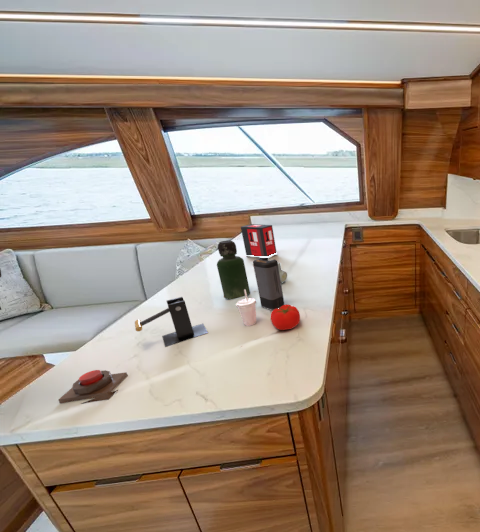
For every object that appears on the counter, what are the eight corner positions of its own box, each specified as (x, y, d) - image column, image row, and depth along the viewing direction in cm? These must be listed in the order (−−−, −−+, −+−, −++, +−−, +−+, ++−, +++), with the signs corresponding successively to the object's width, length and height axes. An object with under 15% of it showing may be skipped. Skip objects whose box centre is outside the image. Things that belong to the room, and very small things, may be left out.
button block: (61, 406, 73) (54, 393, 71) (86, 384, 80) (81, 372, 79) (108, 399, 75) (103, 386, 73) (129, 378, 82) (124, 366, 81)
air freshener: (273, 278, 154) (270, 260, 151) (289, 278, 154) (286, 260, 150) (263, 286, 144) (260, 267, 140) (280, 286, 143) (277, 267, 140)
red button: (76, 387, 74) (74, 381, 73) (89, 376, 78) (86, 371, 77) (95, 384, 75) (93, 378, 74) (106, 374, 79) (104, 368, 78)
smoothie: (264, 323, 110) (257, 288, 105) (249, 331, 104) (241, 295, 100) (252, 319, 112) (245, 285, 108) (237, 327, 107) (229, 292, 102)
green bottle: (222, 295, 135) (209, 242, 127) (246, 289, 142) (235, 237, 134) (227, 302, 128) (214, 246, 120) (253, 295, 134) (242, 241, 126)
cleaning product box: (276, 255, 196) (272, 225, 189) (267, 259, 188) (261, 227, 181) (256, 253, 201) (251, 224, 194) (246, 257, 193) (240, 226, 186)
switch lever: (138, 333, 90) (133, 327, 89) (137, 326, 95) (132, 320, 93) (185, 309, 97) (180, 303, 96) (182, 303, 101) (178, 297, 100)
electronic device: (286, 305, 123) (279, 259, 117) (274, 311, 119) (265, 264, 112) (271, 301, 128) (264, 256, 122) (259, 306, 123) (250, 260, 117)
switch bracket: (166, 350, 95) (153, 311, 90) (163, 338, 101) (151, 302, 97) (209, 335, 102) (199, 299, 98) (203, 326, 109) (194, 291, 104)
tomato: (276, 335, 101) (273, 318, 99) (269, 322, 110) (266, 306, 108) (304, 327, 106) (302, 310, 104) (296, 315, 115) (294, 300, 113)
